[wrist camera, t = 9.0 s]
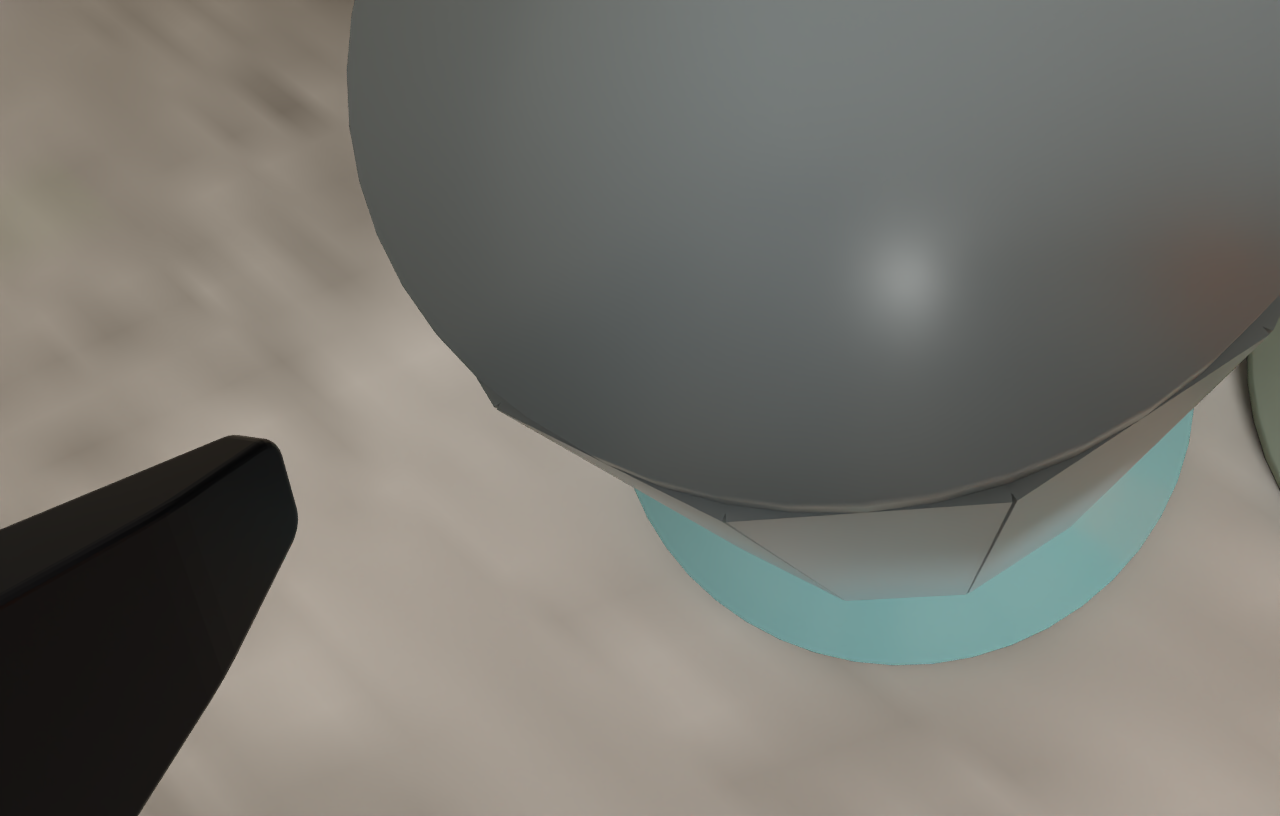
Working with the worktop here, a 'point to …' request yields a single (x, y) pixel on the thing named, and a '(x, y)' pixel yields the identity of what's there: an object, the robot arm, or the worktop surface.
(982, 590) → the teal disc stand
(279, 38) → the worktop surface
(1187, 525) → the worktop surface
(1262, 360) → the mat
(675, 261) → the grey canister
